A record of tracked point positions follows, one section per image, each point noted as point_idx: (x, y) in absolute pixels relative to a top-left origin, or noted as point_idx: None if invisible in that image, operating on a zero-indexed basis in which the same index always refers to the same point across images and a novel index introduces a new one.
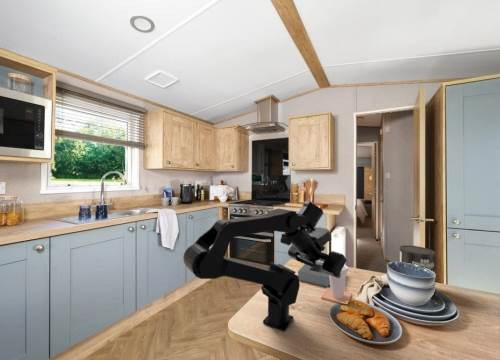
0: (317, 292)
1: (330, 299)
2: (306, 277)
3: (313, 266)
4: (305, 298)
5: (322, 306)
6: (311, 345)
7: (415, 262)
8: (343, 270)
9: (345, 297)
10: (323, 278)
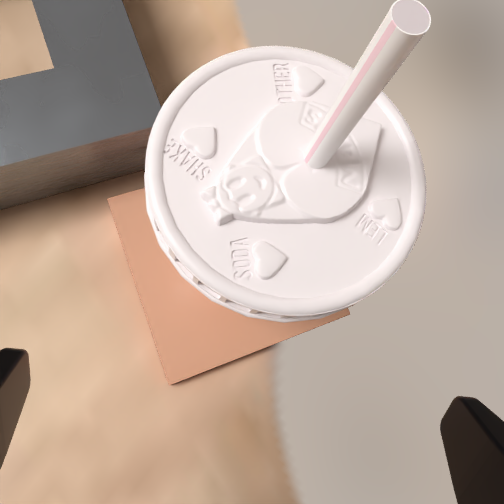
0: (88, 320)
1: (236, 356)
2: None
3: (4, 445)
4: (74, 495)
5: (240, 478)
6: None
7: None
8: (417, 236)
9: None
10: (47, 163)
